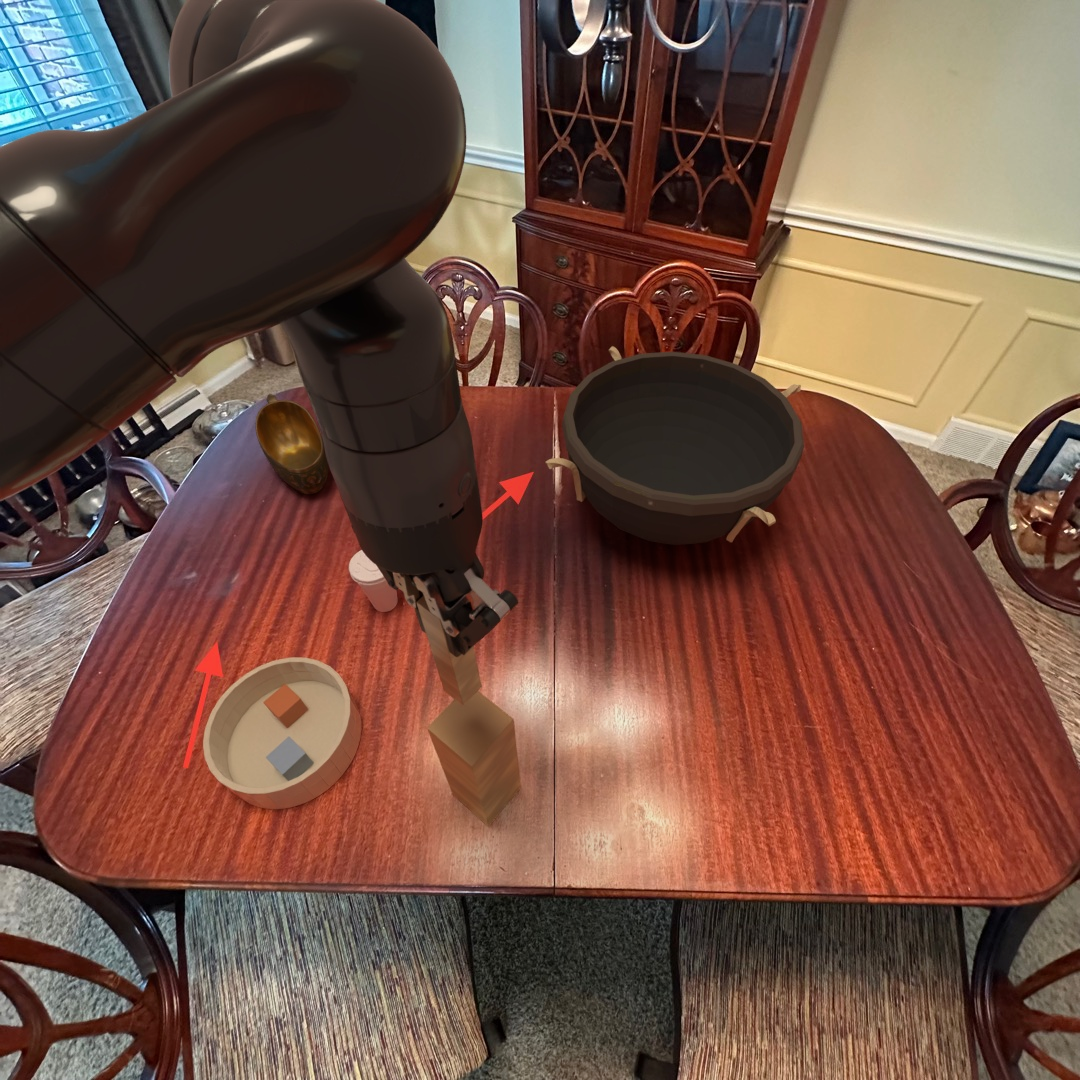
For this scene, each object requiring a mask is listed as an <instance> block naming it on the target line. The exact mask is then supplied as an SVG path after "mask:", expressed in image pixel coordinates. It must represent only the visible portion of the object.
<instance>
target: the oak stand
mask: <svg viewBox="0 0 1080 1080" xmlns="http://www.w3.org/2000/svg"><path fill="white" fill-rule="evenodd" d="M426 729H427V732H428V734H429V737H430V739H431V742H432V745H433V748H434V750H435V753H436V756H437V758H438V760H439V763H440V765H441V769H442V771H443V773H444V776H445V779H446V781H447V784H448V786H449V789H450V792H451V794H452V796H453V797H455V798H456V799H457V800H458V801H459V802H460V803H461V804H463V806H465V807H466V809H468V810H469V811H470V812H471V813H473V815H474V816H476V817H477V818H478V819H479V820H480V821H481V822H482V823H483V824H485V825H486V826H487V827H488V828H489V827H490V826H491V825H492V824H493V822H494V821H495V820H496V818H497V817H498V816H499V815H500V814H501V813H502V811H503V810H504V809H505V807H506V806H507V805H508V804H509V802H510V801H511V800H512V798H513V797H514V796H515V795H516V793H517V792H518V791H519V790H520V789H521V788H522V782H521V775H520V765H519V757H518V755H519V754H518V747H517V738H516V737H517V736H516V730H515V729H516V728H515V721H514V718H513V717H512V716H511V715H509V713H507V712H506V711H504V710H503V709H502V708H500V707H499V706H498V705H497V704H495V702H493V701H492V700H491V699H489V698H488V697H486V696H485V695H484V694H483V693H482V692H481V691H480V690H478V691H477V693H476V694H475V695H474V696H473V697H472V698H471V699H470V700H469V701H468V702H467V703H466V704H465V705H464V706H462V705H461V704H460V703H458V702H457V701H456V700H455V699H453V700H452V701H451V702H450V704H448V705H447V707H445V708H444V709H443V711H441V712H440V714H439V715H438V716H437V717H436V718H435V719H434V720H433V721H432V722H431V723H430V724H429V725H428V726H427V727H426Z"/></svg>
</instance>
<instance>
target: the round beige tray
mask: <svg viewBox="0 0 1080 1080" xmlns="http://www.w3.org/2000/svg"><path fill="white" fill-rule="evenodd" d="M284 684H286V685H287V686H288V687H289V688H290V689H291V690H292V691H293V692H294V693H295V694H297V695H298V696H299V697H300V698H301V700H302V701H303V703H304V704H305V705H306V707H307V708H308V710H307V711H306V712H305V713H304V714H303V715H302V716H301V717H300V718H298V719H297V720H296V721H295V722H294V723H293V724H292V725H291V726H290V727H288V728H286V727H285V726H284V725H283V724H282V723H281V722H280V721H279V720H278V719H277V718H276V717H275V716H274V715H273V714H272V713H271V711H270V710H269V709H268V708H267V707H266V705H265V704H264V703H263V702H264V701H265V700H266V699H268V698H269V697H270V696H271V695H272V694H273V693H275V692H276V691H277V690H278V689H279V688H280V687H282V686H283V685H284ZM288 736H289V737H290V738H291V739H292V740H293V741H294V742H295V743H296V744H297V745H298V746H299V747H300V748H301V749H302V750H303V751H304V752H305V753H306V754H307V755H308V756H309V758H310V759H311V760H312V761H313V762H314V763H313V764H312V765H311V766H310V767H309V768H308V769H307V770H306V771H305V772H304V773H303V774H302V775H300V776H299V777H297V778H294V779H292V780H290V781H288V780H287V779H286V778H285V777H284V776H283V775H282V774H281V773H280V772H279V771H278V770H277V769H276V768H275V767H274V766H273V765H272V764H271V763H270V762H269V761H268V759H267V758H266V756H268V755H269V754H270V753H271V752H272V751H273V750H274V749H275V748H276V747H277V746H279V745H280V744H281V743H282V742H283V741H284V740H285V739H286V738H287V737H288ZM361 736H362V718H361V713H360V709H359V707H358V704H357V702H356V700H355V698H354V696H353V695H352V693H351V691H350V689H349V688H348V685H347V684H346V683H345V681H344V679H343V678H342V676H341V675H340V674H339V673H338V672H337V671H336V670H335V669H334V668H333V667H332V666H330V665H329V664H326V663H324V662H322V661H321V660H318V659H315V658H314V659H313V658H309V657H299V656H298V657H294V656H293V657H285V658H280V659H275V660H272V661H269V662H266V663H263V664H261V665H259V666H256V667H255V668H253V669H252V670H250V671H248V672H247V673H245V674H243V675H242V676H241V677H240V678H239V679H237V680H236V681H234V683H232V684H231V685H230V686H229V687H228V689H226V690H225V692H224V693H223V694H222V695H221V696H220V697H219V699H218V700H217V702H216V704H215V705H214V707H213V708H212V710H211V711H210V714H209V716H208V719H207V723H206V725H205V728H204V733H203V738H202V739H203V740H202V746H203V747H202V748H203V757H204V760H205V763H206V764H207V767H208V769H209V772H210V773H211V774H212V776H214V778H215V779H216V780H217V781H218V782H219V783H220V784H221V785H223V786H224V787H225V788H226V789H228V790H229V791H230V792H231V793H232V794H234V795H235V796H236V797H238V798H239V799H240V800H242V801H244V802H246V804H249V805H251V806H254V807H256V808H260V809H266V810H285V809H290V808H294V807H296V806H301V805H303V804H306V803H308V802H311V801H312V800H314V799H316V798H317V797H319V796H321V795H322V794H323V793H325V792H326V791H328V790H329V789H330V788H331V787H333V786H334V785H335V784H336V783H337V782H338V781H339V780H340V779H341V777H342V776H343V775H344V774H345V773H346V771H347V770H348V768H349V767H350V765H351V764H352V761H353V760H354V758H355V757H356V753H357V752H358V749H359V745H360V742H361Z"/></svg>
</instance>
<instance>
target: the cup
mask: <svg viewBox="0 0 1080 1080" xmlns="http://www.w3.org/2000/svg"><path fill="white" fill-rule="evenodd" d="M266 401H267V404H265V405H263V406H262V407H261V408H260V409H259V411H258V412H257V414H256V417H255V424H254V425H255V434H256V438H257V442H258V444H259V446H260V449H261V450H262V452H263V455H264V457H265V458H266V460H267V461H268V463H269V464H270V465H271V467H272V469H273V470H274V471H275V473H276V474H277V476H279V478H281V479H282V481H284V483H286V484H287V485H288V486H289V487H291V488H292V489H294V490H295V491H297V492H299V493H301V494H304V495H313V494H317V493H319V492H321V491H322V490H323V489H324V488H325V486H326V484H327V480H328V475H329V469H330V467H329V464H328V461H327V458H326V453H325V448H324V442H323V438H322V434H321V430H320V428H319V425H318V424H317V423H316V421H315V419H314V418H313V416H312V414H310V412H309V411H308V410H307V409H306V408H305V407H304V405H301V404H300V403H298V402H296V401H292V400H289V399H288V400H287V399H281V400H278V398H277V396H275V395H274V394H272V393H268V394H267V396H266Z"/></svg>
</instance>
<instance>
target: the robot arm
mask: <svg viewBox="0 0 1080 1080" xmlns="http://www.w3.org/2000/svg"><path fill="white" fill-rule="evenodd" d="M168 79H169V89H170V94H171V97H170V98H168V99H167V100H164V101H162V102H161V103H159V104H157V105H156V106H154V107H152V108H150V109H148V110H146V111H145V112H143V113H141V114H139V115H137V116H136V117H134V118H131V119H130V120H128V121H126V122H124V123H121V124H119V125H116V126H113V127H110V128H106V129H99V130H75V129H64V128H63V129H62V128H61V129H59V128H57V129H56V128H55V129H45V130H40V131H36V132H34V133H30V134H27V135H25V136H22V137H20V138H17V139H15V140H11V141H10V142H8V143H6V144H4V145H1V146H0V502H2V501H4V500H7V499H9V498H11V497H13V496H15V495H17V494H19V493H21V492H23V491H25V490H28V489H29V488H31V487H32V486H35V485H36V484H38V483H40V482H41V481H44V479H46V478H48V477H49V476H51V475H53V474H54V473H56V472H58V471H60V470H61V469H63V468H64V467H66V466H67V465H69V463H71V462H73V461H75V460H76V459H77V458H79V457H81V455H83V454H84V453H86V452H87V451H89V450H90V449H91V448H92V447H94V446H95V445H96V444H98V443H100V441H102V440H103V439H104V438H106V437H107V436H108V435H109V434H111V433H112V432H113V431H115V430H116V429H118V428H119V427H120V426H122V425H123V424H124V423H126V422H127V421H129V420H130V419H131V418H132V417H133V416H135V415H136V414H138V413H139V412H140V411H141V410H142V409H144V408H145V407H146V406H147V405H149V404H150V403H151V402H153V401H154V400H155V399H156V398H158V397H159V396H160V395H162V394H163V393H165V392H166V391H167V390H168V389H169V388H170V387H172V386H174V384H176V383H177V382H178V380H177V378H176V377H175V376H177V377H178V378H181V379H183V377H185V376H186V375H187V374H188V373H189V372H190V371H192V370H193V369H195V368H196V366H198V365H199V364H200V363H201V362H202V361H203V360H204V359H206V358H207V357H208V356H209V355H211V354H212V353H214V352H215V351H216V350H218V349H220V348H223V347H225V346H227V345H229V344H231V343H234V342H236V341H238V340H241V339H243V338H247V337H249V336H252V335H255V334H257V333H260V332H263V331H265V330H269V329H271V328H273V327H276V326H278V325H279V326H280V327H281V329H282V331H283V333H284V334H285V336H286V338H287V340H288V343H289V345H290V348H291V352H292V355H293V359H294V362H295V364H296V368H297V371H298V374H299V376H300V380H301V381H302V384H303V387H304V390H305V392H306V395H307V397H308V400H309V403H310V405H311V408H312V410H313V413H314V416H315V419H316V421H317V425H318V428H319V431H320V433H321V436H322V439H323V442H324V448H325V453H326V458H327V461H328V466H329V470H330V473H331V475H332V477H333V480H334V483H335V485H336V489H337V490H338V494H339V495H340V498H341V501H342V504H343V506H344V509H345V511H346V514H347V516H348V519H349V522H350V524H351V525H350V526H351V529H352V531H353V533H354V534H355V537H356V539H357V541H358V544H359V547H360V550H362V551H363V552H364V554H365V555H366V556H367V557H368V558H369V559H370V560H371V561H372V562H373V563H374V564H376V565H377V567H378V569H379V570H380V572H381V573H382V575H383V576H384V578H385V579H386V581H387V582H388V585H389V586H390V587H392V588H393V589H395V590H397V591H398V590H401V591H402V592H403V596H404V599H405V601H406V603H407V605H408V606H411V607H412V608H413V609H414V611H415V614H416V619H417V621H418V624H419V627H420V631H422V632H423V633H424V634H426V632H425V628H424V625H423V622H422V619H421V616H420V612H419V609H418V606H417V603H416V602H417V601H418V600H419V599H420V598H421V597H422V596H423V595H424V597H425V600H426V602H427V605H428V607H429V610H430V612H431V613H432V614H433V615H435V616H436V617H438V618H439V619H440V620H441V622H442V625H443V628H444V633H445V636H446V640H447V644H448V648H449V651H450V653H451V654H453V655H454V656H455V657H459V656H460V655H461V654H463V655H465V654H466V653H467V652H468V651H469V650H470V649H471V648H472V647H473V646H474V647H475V646H476V644H477V643H479V642H480V641H481V640H482V639H483V638H485V637H486V636H487V635H488V634H489V633H490V632H491V631H493V630H494V629H495V628H496V627H497V626H498V625H499V624H500V623H501V622H502V621H503V620H504V619H505V618H506V617H507V615H509V613H511V611H513V609H514V608H515V607H517V605H519V599H518V598H517V596H516V595H515V594H514V593H513V592H511V590H508V589H503V591H502V592H499V590H497V589H494V590H493V589H492V588H491V587H490V586H489V585H488V584H487V583H486V582H485V581H484V577H485V569H484V567H483V564H482V562H481V561H480V559H479V557H478V554H477V548H478V544H479V539H480V536H481V533H482V529H483V522H484V520H483V519H484V518H483V509H482V502H481V494H480V487H479V481H478V473H477V465H476V458H475V452H474V444H473V436H472V431H471V427H470V423H469V420H468V417H467V414H466V411H465V408H464V403H463V400H462V393H461V386H460V381H459V373H458V366H457V360H456V352H455V345H454V337H453V332H452V327H451V323H450V320H449V315H448V313H447V310H446V308H445V306H444V304H443V302H442V299H441V297H440V296H439V295H438V293H437V292H436V289H434V287H432V285H430V283H428V281H426V279H425V278H424V277H422V275H420V273H419V272H417V271H416V269H415V268H414V267H413V266H412V265H411V264H410V262H408V260H407V259H406V258H408V257H409V256H410V255H411V254H412V253H413V252H414V251H416V250H417V249H418V248H419V247H420V246H421V245H422V244H423V242H424V241H425V240H426V239H427V238H428V237H430V235H431V233H432V232H433V231H434V230H435V229H436V228H437V226H438V224H439V223H440V221H441V220H442V218H443V216H444V215H445V213H446V212H447V210H448V208H449V206H450V205H451V202H452V200H453V198H454V195H455V193H456V191H457V188H458V186H459V183H460V179H461V176H462V173H463V170H464V166H465V165H464V164H465V161H466V160H465V159H466V153H467V123H466V115H465V114H466V113H465V108H464V107H465V106H464V103H463V99H462V95H461V92H460V89H459V86H458V83H457V80H456V78H455V75H454V74H453V72H452V70H451V68H450V65H449V64H448V62H447V61H446V59H445V57H444V55H443V54H442V53H441V51H440V50H439V49H438V47H437V46H436V44H435V43H434V42H433V41H432V40H431V38H430V37H429V36H428V35H427V34H426V33H425V32H424V31H422V29H421V28H419V26H418V25H417V24H416V23H414V22H413V21H412V20H410V19H409V18H408V17H406V16H405V15H403V14H401V13H400V12H398V11H396V10H395V9H394V8H392V7H390V6H389V5H387V4H385V3H383V2H381V1H379V0H185V2H184V4H183V5H182V7H181V8H180V9H179V12H178V14H177V17H176V19H175V23H174V26H173V29H172V33H171V37H170V43H169V47H168Z"/></svg>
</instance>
